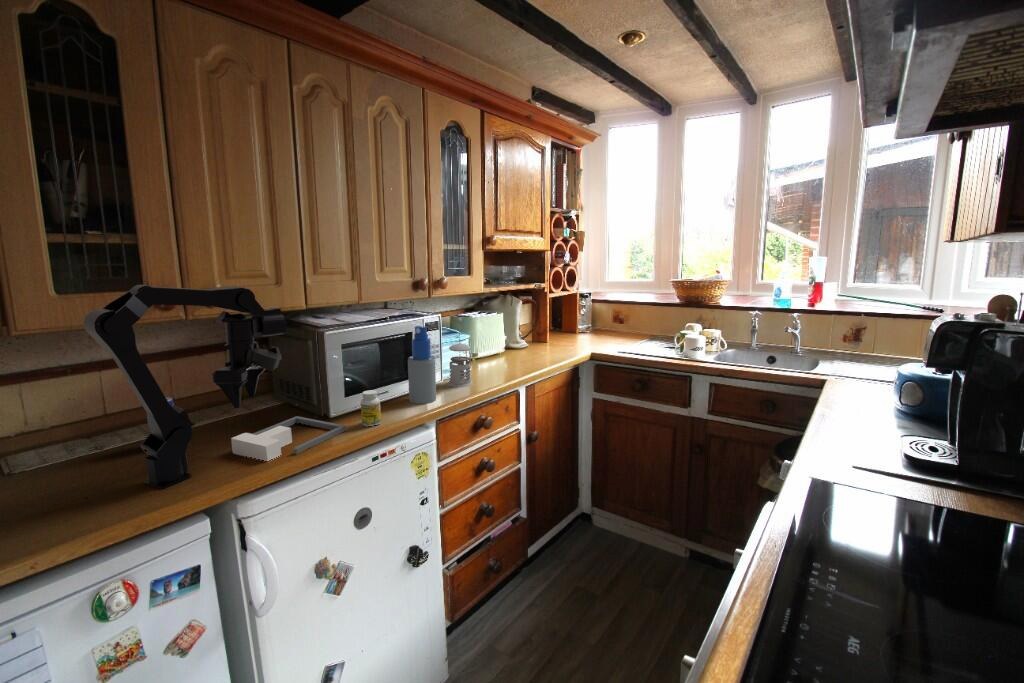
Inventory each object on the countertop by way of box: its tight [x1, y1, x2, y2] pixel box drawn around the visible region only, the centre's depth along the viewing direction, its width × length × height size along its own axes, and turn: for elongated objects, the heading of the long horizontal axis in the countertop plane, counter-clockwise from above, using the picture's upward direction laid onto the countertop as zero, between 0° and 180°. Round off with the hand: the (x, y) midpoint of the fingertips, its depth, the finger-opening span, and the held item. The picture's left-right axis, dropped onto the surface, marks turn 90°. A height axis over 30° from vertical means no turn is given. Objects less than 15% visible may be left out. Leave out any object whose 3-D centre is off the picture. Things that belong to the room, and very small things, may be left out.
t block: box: [230, 426, 293, 462], centre depth 123 cm, size 11×12×4 cm
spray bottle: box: [407, 325, 437, 405], centre depth 161 cm, size 9×9×25 cm
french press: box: [446, 317, 474, 388], centre depth 181 cm, size 10×12×25 cm
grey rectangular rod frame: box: [252, 415, 347, 454], centre depth 131 cm, size 17×18×2 cm
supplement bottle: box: [360, 389, 382, 427], centre depth 140 cm, size 5×5×10 cm
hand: (245, 402), depth 119 cm, fingers open, 9 cm apart
